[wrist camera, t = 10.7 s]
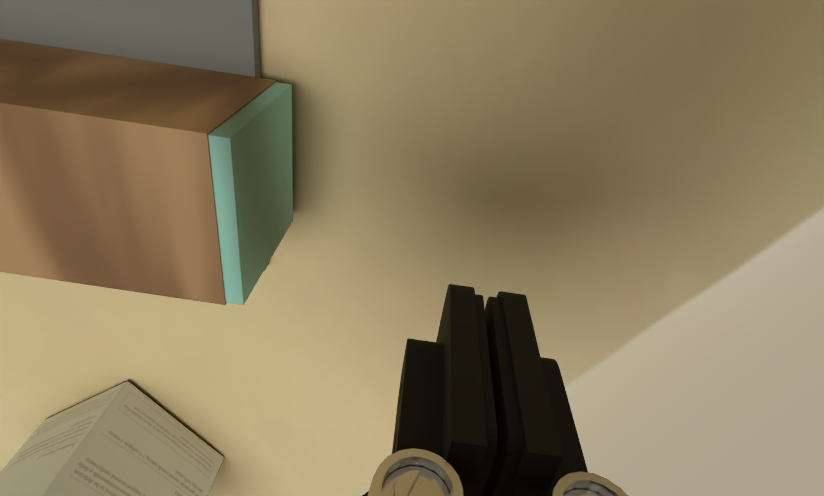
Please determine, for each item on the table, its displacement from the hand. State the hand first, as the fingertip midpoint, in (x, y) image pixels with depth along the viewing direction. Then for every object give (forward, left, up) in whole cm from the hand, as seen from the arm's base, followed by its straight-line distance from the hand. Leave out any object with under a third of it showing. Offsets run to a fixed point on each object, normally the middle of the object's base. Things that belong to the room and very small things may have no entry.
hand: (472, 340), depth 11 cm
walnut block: (+4, -5, -5) cm, 8 cm away
